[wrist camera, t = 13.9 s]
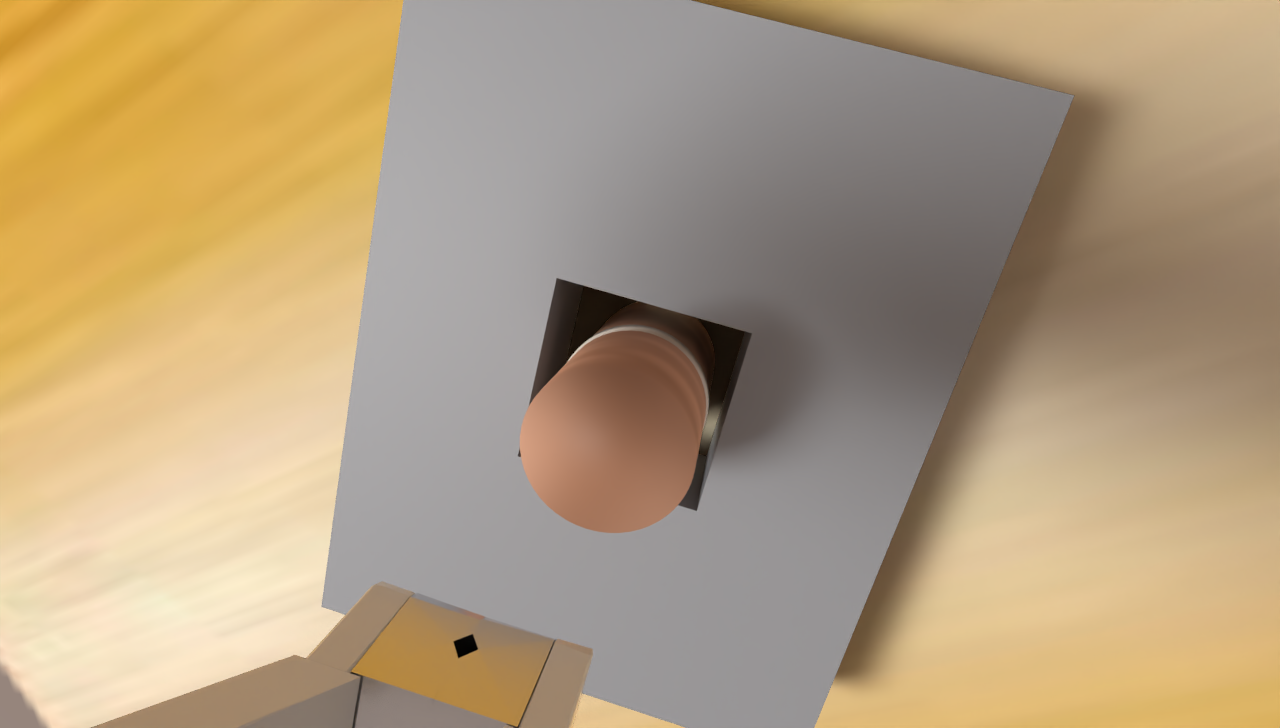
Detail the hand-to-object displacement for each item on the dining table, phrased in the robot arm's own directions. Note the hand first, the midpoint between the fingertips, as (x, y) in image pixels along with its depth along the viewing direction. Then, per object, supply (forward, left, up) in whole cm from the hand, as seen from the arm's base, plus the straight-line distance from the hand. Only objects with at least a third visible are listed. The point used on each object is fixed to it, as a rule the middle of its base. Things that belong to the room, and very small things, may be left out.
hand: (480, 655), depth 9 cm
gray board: (0, 0, -15) cm, 15 cm away
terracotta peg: (0, 0, -15) cm, 15 cm away
